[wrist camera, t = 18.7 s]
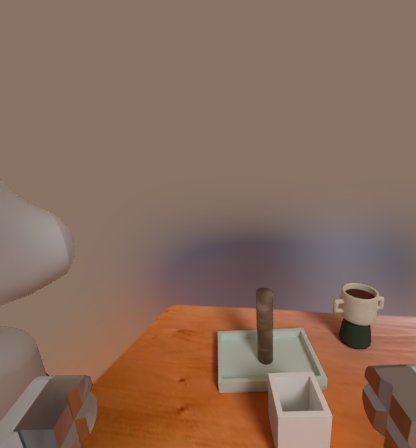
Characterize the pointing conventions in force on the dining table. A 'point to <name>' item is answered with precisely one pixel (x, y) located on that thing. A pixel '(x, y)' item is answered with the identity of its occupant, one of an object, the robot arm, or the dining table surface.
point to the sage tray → (257, 372)
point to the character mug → (357, 313)
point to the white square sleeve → (298, 411)
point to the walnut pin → (264, 325)
